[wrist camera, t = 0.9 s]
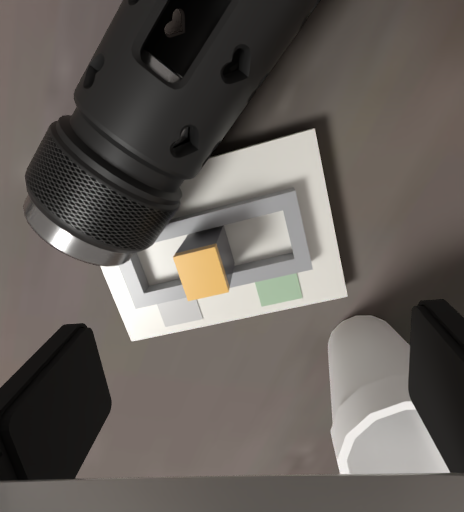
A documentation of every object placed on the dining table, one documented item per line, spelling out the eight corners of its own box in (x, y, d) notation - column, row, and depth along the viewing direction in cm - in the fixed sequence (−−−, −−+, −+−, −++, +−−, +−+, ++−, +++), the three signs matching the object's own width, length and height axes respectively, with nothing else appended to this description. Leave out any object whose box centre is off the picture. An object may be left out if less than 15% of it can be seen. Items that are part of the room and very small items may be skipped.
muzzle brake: (386, -74, 24) (469, -214, 14) (156, 246, 33) (110, 295, 23) (272, -183, 23) (278, -418, 13) (64, 179, 31) (-26, 201, 22)
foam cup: (433, 324, 34) (531, 437, 21) (381, 397, 37) (440, 533, 25) (340, 284, 33) (385, 378, 21) (294, 363, 36) (311, 484, 24)
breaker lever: (223, 224, 30) (214, 247, 24) (234, 262, 31) (228, 292, 25) (188, 233, 30) (172, 257, 25) (200, 270, 31) (187, 301, 26)
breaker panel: (311, 128, 29) (317, 128, 25) (342, 286, 33) (351, 305, 30) (83, 193, 32) (61, 201, 29) (138, 330, 36) (125, 351, 33)
